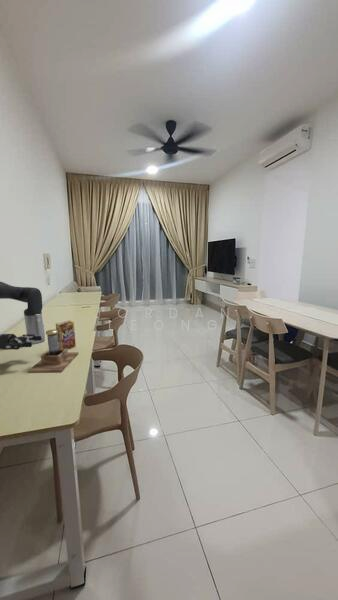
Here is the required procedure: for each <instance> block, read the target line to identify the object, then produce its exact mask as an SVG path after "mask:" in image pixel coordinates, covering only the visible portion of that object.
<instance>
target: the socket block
mask: <svg viewBox="0 0 338 600" xmlns="http://www.w3.org/2000/svg"><path fill="white" fill-rule="evenodd" d="M68 350H69V349H59V355H51V356H50V355H49V350H47V351H45V353H43V354H42V355H41V356H40V360H39V361H38V362H37V363H36V364H34V365H33V366H32V367H30V368H29V369H28V373H63V371H65V369H66V368H67V367H68V366H69V365H70V364H71V363H72V362H73V360H74V359H76V357H77V356H78V355H79V354H80V352H78V351H72V352H71V351H68Z"/></svg>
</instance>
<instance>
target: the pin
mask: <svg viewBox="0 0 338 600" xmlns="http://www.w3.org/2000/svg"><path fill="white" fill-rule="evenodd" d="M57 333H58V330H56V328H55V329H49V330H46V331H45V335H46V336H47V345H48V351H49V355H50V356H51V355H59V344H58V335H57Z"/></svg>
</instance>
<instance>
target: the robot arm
mask: <svg viewBox="0 0 338 600" xmlns="http://www.w3.org/2000/svg"><path fill="white" fill-rule="evenodd" d="M42 295H43V294H42V292H41V290H40V289H39V288H37V287H32V286H31V287H30V286H29V287H26V286H24V287H23V286H14V285H11V284H8V283H6V282H3V281H0V299H1V300H2V299H5V300H6V299H9V300H15V301H17V302H18V301H19V302H22V303H27V307H26V308H25V309H24V310H23V315H24V323H25V324H24V325H25V331H26V332H25V333H26V334H22V335H21V336H20V335H19V336H17V335H16V334H15V333H0V350H2V351H4V350H9V351H10V350H11V351H12V350H17V351H18V350H20V349H23V348H31V347H32V346H33V345H34V344H40V343H42V342H44V341H46V336H45V335H46V332H45V325H44V322H43V320H44V319H43V313H42V311H43V296H42Z"/></svg>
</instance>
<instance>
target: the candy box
mask: <svg viewBox="0 0 338 600" xmlns="http://www.w3.org/2000/svg"><path fill="white" fill-rule="evenodd" d="M55 329H56V330H58V333H57V335H58V344H59V349H67V350H69V349H73V348H75V347H76V346H77V345H76V333H75V321H74V320H71V319H70V320H67V321H62V322H58V323H55Z"/></svg>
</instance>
